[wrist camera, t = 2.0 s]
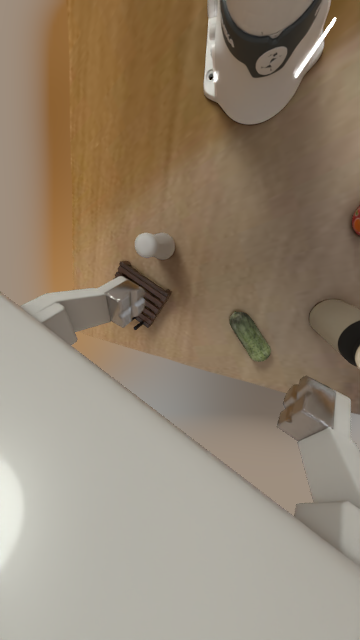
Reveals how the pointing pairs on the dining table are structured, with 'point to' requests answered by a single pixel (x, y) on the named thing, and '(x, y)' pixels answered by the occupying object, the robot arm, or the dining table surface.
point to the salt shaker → (155, 245)
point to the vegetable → (250, 336)
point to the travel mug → (339, 327)
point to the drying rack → (150, 286)
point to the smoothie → (356, 221)
